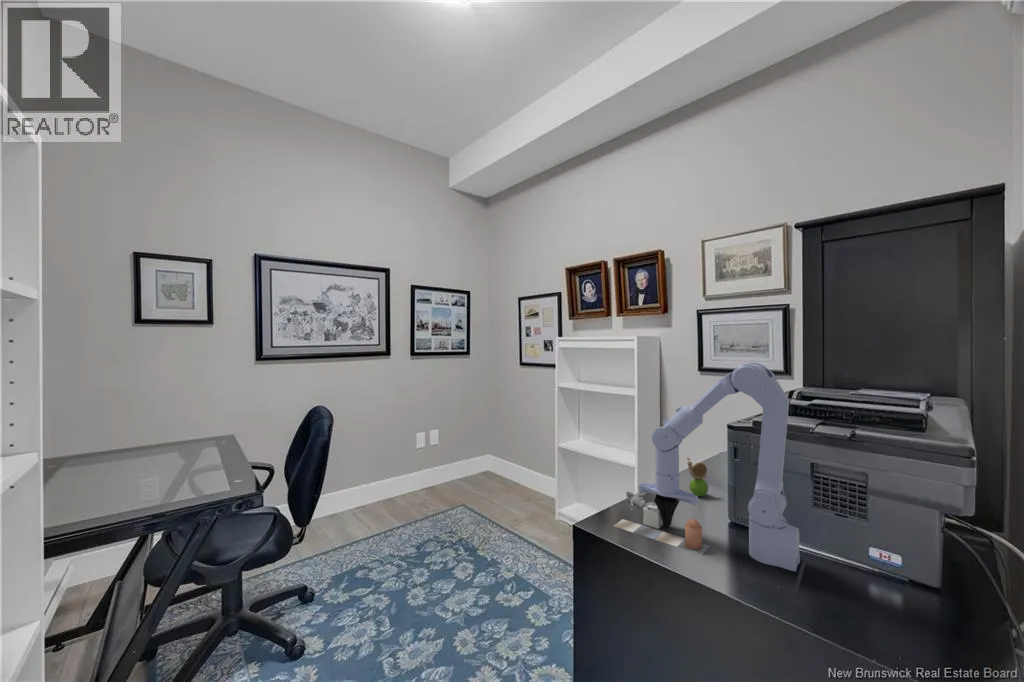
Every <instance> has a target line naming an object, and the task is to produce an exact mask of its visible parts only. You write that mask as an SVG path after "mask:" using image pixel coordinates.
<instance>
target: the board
mask: <svg viewBox="0 0 1024 682" xmlns="http://www.w3.org/2000/svg"><path fill="white" fill-rule="evenodd" d="M613 527H614V528H618V529H621V530H624V531H627V532H630V533H633V534H636V535H640V536H642V537H645V538H648V539H651V540H655V541H658V542H661V543H664V544H667V545H670V546H672V547H676V548H679V549H682V550H686V551H688V552H692V553H695V554H698V555H701V556H703V555H704V553H705V552H706V551H707V550H708V548H709V547H710V545H708V544H704V543H702V549H701V550H692V549H689V548H687V547H686V546H685V537H683V536H679V535H676V534H672V533H669V532H667V531H662V530H659V529H657V528H654V527H651V526H648V525H644V524H643V525H642V524H640V523H637V522H634V521H630V520H626V519H623V518H622V519H621V520H620V521H618V522H617V523H615V524H614V525H613Z"/></svg>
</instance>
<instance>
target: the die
mask: <svg viewBox="0 0 1024 682" xmlns="http://www.w3.org/2000/svg"><path fill="white" fill-rule="evenodd" d="M642 511H643V515H642V516H643V520H642V521H643V523H642V524H643V525H644V526H647V527H650V528H653V529H657V530H659V529H660V528H661V527H662V526H663V521H662V517H661V514H660V511H659V509H658V507H657V506H653V505H648V506H647V507H646V508H644V509H643V508H642Z"/></svg>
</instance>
